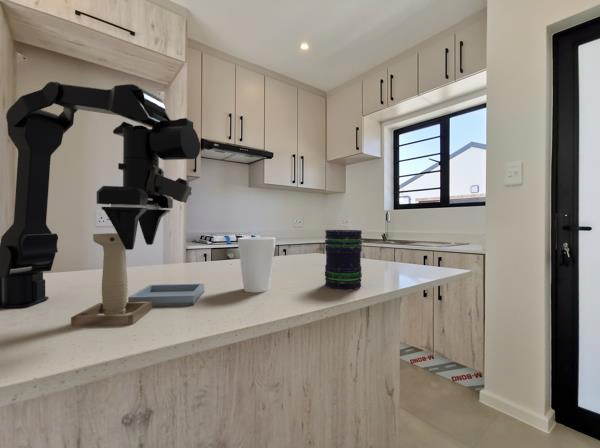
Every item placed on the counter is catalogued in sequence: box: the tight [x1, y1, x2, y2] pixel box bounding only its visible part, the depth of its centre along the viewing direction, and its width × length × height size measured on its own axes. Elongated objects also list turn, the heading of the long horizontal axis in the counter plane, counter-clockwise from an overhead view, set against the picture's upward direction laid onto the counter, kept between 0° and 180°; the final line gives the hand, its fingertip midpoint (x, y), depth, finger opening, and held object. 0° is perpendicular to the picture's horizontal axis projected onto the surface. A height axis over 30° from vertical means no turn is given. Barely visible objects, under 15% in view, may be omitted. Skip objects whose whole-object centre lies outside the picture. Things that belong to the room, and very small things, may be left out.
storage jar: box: [324, 229, 363, 291], centre depth 81 cm, size 10×10×15 cm
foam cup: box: [237, 236, 277, 293], centre depth 76 cm, size 10×9×13 cm
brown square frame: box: [70, 301, 153, 327], centre depth 54 cm, size 10×9×2 cm
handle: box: [92, 232, 129, 315], centre depth 54 cm, size 5×6×15 cm
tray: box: [127, 283, 205, 307], centre depth 67 cm, size 13×12×2 cm
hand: (140, 246), depth 55 cm, fingers open, 9 cm apart
